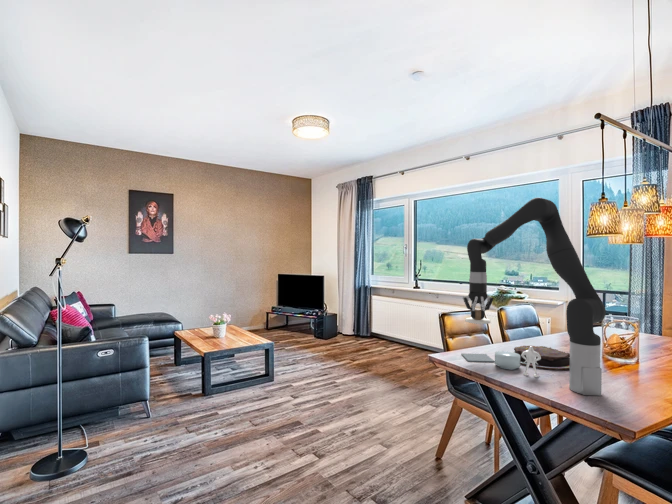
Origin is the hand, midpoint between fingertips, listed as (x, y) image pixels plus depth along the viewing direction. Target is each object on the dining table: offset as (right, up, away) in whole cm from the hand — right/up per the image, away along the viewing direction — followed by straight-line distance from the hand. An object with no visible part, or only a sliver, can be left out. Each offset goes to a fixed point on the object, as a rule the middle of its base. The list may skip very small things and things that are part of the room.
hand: (477, 318), depth 173 cm
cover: (0, -1, 0) cm, 1 cm away
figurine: (+12, -19, -24) cm, 33 cm away
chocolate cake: (+28, -19, -3) cm, 34 cm away
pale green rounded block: (+8, -19, -13) cm, 24 cm away
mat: (0, -19, 0) cm, 19 cm away
